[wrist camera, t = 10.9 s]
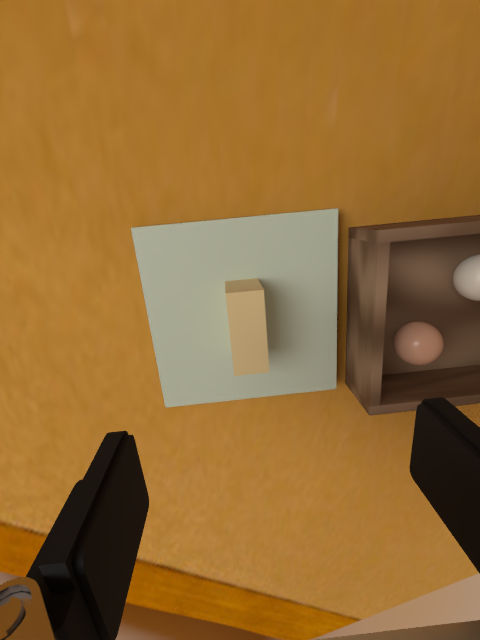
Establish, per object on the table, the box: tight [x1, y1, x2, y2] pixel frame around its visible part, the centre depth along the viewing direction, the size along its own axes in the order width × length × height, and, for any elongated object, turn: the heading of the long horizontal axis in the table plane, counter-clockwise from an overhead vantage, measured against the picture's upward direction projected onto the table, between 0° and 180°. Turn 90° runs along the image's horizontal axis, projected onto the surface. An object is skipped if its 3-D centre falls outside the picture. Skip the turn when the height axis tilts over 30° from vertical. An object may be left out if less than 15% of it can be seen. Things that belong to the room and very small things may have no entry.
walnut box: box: [345, 215, 480, 415], centre depth 25 cm, size 14×14×5 cm
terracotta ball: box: [393, 321, 444, 365], centre depth 26 cm, size 4×4×4 cm
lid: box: [131, 208, 338, 407], centre depth 24 cm, size 15×15×5 cm
